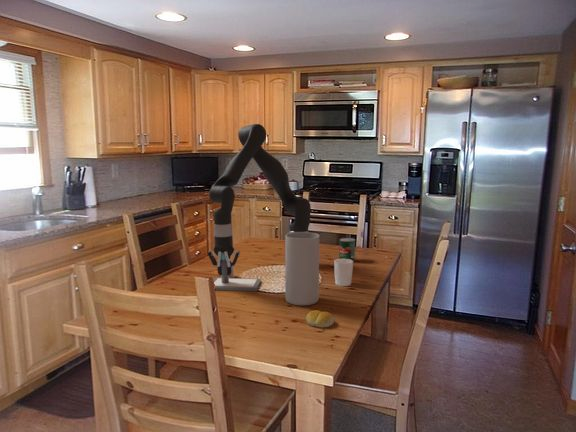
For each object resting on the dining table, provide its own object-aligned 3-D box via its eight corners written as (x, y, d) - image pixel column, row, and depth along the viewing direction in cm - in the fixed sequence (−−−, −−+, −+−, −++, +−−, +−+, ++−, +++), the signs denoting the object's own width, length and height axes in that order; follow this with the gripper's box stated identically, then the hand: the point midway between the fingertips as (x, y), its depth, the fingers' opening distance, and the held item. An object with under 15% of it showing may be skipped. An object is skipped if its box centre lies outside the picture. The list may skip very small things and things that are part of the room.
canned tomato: (338, 262, 219) (339, 240, 217) (339, 258, 226) (340, 237, 225) (354, 262, 217) (355, 241, 216) (355, 259, 225) (355, 238, 223)
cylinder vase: (323, 297, 167) (324, 233, 163) (311, 308, 156) (311, 240, 152) (293, 293, 172) (293, 231, 168) (279, 303, 161) (279, 236, 157)
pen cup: (235, 275, 195) (234, 260, 194) (232, 279, 189) (231, 264, 188) (222, 275, 196) (221, 260, 195) (218, 279, 190) (218, 263, 189)
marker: (229, 281, 183) (228, 250, 181) (228, 283, 180) (227, 252, 178) (222, 281, 183) (221, 250, 181) (220, 283, 180) (219, 252, 178)
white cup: (354, 282, 186) (354, 259, 185) (350, 287, 179) (351, 264, 177) (336, 280, 189) (336, 257, 187) (331, 285, 181) (332, 262, 180)
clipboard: (261, 281, 187) (261, 278, 187) (256, 291, 174) (255, 287, 174) (215, 280, 189) (215, 277, 188) (207, 289, 176) (207, 286, 176)
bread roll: (313, 316, 149) (313, 305, 148) (336, 322, 144) (337, 310, 143) (301, 324, 142) (301, 312, 141) (325, 330, 137) (325, 318, 137)
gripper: (241, 232, 181) (243, 272, 184) (209, 232, 182) (210, 272, 185) (238, 236, 174) (239, 278, 176) (203, 236, 175) (205, 277, 178)
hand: (224, 274), depth 181 cm, fingers closed on marker, 3 cm apart
